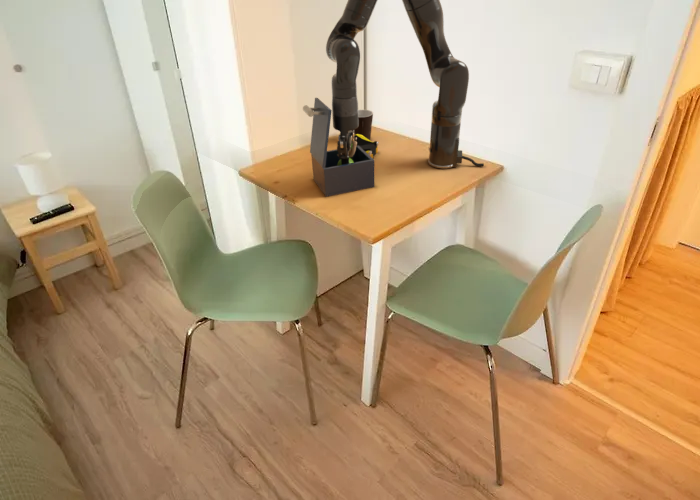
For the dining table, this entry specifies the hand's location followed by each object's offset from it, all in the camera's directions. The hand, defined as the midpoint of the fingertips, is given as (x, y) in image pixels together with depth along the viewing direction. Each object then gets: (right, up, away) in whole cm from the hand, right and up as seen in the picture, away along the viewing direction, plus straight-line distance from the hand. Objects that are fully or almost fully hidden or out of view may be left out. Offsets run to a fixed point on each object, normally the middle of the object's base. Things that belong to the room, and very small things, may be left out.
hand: (347, 165), depth 143 cm
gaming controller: (+5, +7, +20) cm, 22 cm away
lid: (-8, +8, -9) cm, 14 cm away
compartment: (-1, -5, +3) cm, 6 cm away
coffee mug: (+5, +15, +32) cm, 36 cm away
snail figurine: (0, -3, +2) cm, 3 cm away
